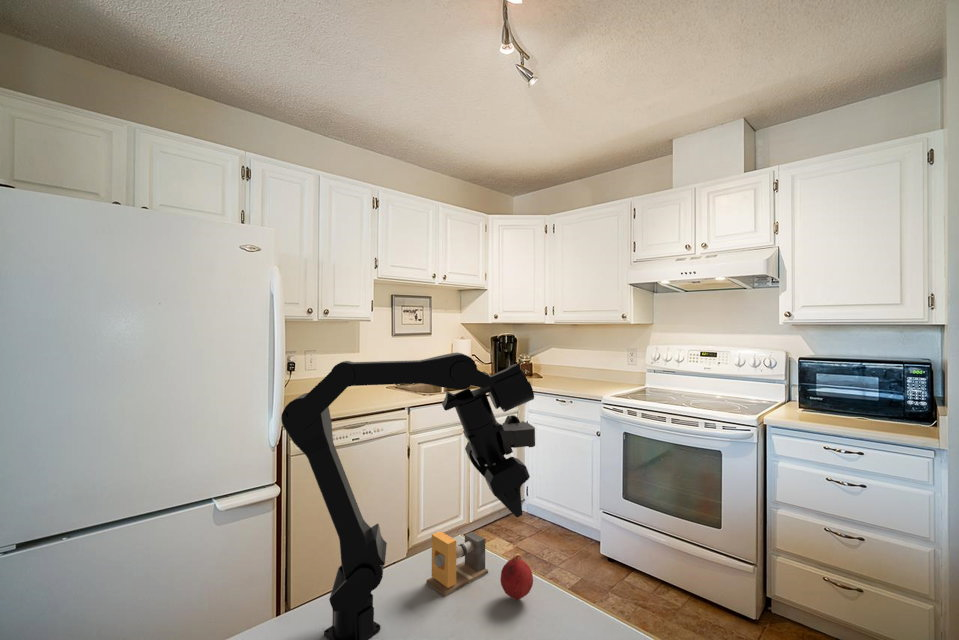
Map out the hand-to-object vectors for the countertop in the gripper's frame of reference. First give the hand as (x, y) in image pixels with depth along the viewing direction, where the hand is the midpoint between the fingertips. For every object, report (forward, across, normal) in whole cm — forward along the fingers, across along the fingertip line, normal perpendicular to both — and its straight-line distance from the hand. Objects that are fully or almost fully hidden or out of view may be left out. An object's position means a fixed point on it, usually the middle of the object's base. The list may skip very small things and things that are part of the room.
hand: (510, 503), depth 74 cm
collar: (+12, +9, +16) cm, 22 cm away
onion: (+18, +2, +5) cm, 19 cm away
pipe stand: (+15, +11, +13) cm, 23 cm away
